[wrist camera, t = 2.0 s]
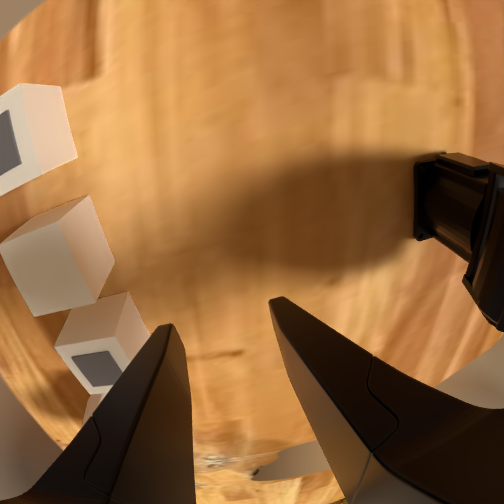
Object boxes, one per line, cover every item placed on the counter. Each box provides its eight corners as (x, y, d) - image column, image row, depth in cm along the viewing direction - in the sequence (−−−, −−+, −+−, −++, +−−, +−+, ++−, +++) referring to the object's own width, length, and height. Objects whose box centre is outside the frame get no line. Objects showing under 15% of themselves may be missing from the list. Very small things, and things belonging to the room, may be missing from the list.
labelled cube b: (78, 157, 16) (40, 175, 11) (20, 184, 16) (-23, 209, 11) (61, 86, 14) (18, 82, 9) (3, 119, 13) (-44, 128, 9)
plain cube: (115, 261, 19) (95, 303, 15) (60, 276, 19) (34, 316, 15) (89, 193, 17) (58, 220, 13) (33, 216, 17) (-3, 246, 12)
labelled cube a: (153, 340, 23) (147, 390, 18) (100, 350, 23) (87, 396, 18) (128, 290, 21) (113, 338, 16) (72, 304, 20) (50, 349, 16)
